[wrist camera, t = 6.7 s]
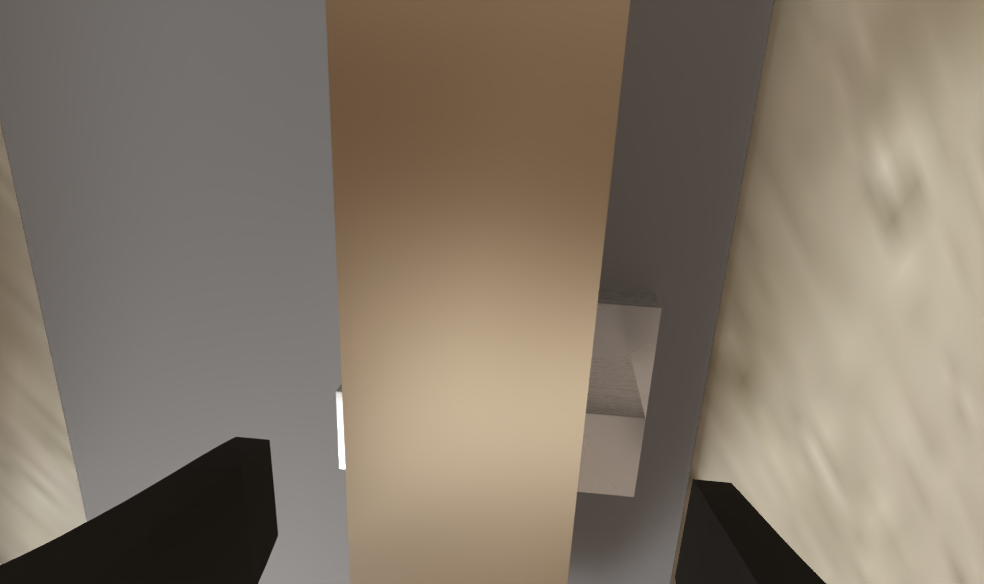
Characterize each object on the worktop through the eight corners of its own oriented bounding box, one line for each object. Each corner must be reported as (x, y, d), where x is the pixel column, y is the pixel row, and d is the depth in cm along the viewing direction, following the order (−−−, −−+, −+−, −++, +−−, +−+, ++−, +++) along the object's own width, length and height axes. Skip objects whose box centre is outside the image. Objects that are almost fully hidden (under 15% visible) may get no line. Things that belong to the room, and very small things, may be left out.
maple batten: (529, 791, 16) (520, 1013, 12) (411, 775, 16) (367, 989, 13) (619, -150, 9) (661, -289, 5) (410, -154, 9) (313, -292, 6)
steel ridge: (632, 453, 17) (651, 551, 13) (364, 428, 17) (318, 517, 14) (655, 292, 15) (682, 359, 12) (360, 270, 16) (307, 328, 12)
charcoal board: (645, 664, 20) (650, 693, 19) (130, 604, 22) (110, 629, 21) (778, -108, 13) (796, -121, 12) (-16, -129, 14) (-57, -142, 13)
